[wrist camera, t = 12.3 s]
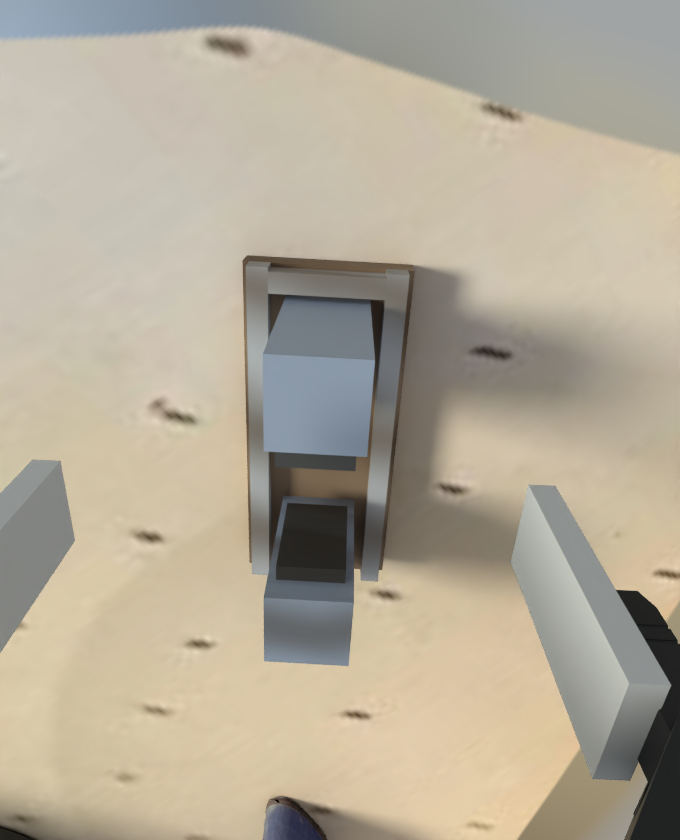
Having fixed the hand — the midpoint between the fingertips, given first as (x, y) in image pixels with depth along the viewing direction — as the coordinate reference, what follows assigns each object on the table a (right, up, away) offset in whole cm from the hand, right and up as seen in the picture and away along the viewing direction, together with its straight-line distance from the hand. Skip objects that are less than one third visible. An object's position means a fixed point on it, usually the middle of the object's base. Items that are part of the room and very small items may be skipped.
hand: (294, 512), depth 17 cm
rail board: (0, +2, +16) cm, 16 cm away
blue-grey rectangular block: (+1, +7, +12) cm, 14 cm away
